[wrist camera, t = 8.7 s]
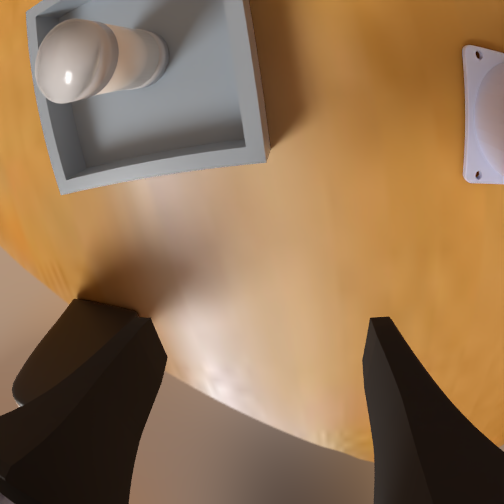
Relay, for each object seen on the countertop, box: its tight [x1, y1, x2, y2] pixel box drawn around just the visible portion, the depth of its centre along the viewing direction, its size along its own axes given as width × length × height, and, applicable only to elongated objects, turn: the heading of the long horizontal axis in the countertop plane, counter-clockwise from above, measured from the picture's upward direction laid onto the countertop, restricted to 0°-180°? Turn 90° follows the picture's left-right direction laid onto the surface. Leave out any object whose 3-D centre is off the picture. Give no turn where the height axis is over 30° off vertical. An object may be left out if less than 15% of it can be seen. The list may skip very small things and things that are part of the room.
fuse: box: [35, 19, 170, 104], centre depth 11 cm, size 3×3×6 cm
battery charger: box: [12, 299, 139, 407], centre depth 20 cm, size 7×4×11 cm, turn 88°
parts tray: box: [26, 0, 271, 195], centre depth 13 cm, size 12×12×3 cm
